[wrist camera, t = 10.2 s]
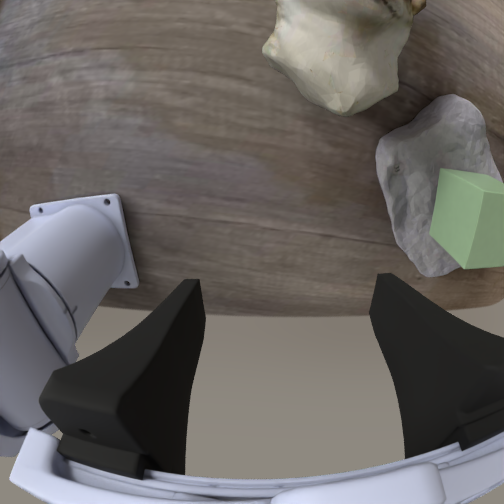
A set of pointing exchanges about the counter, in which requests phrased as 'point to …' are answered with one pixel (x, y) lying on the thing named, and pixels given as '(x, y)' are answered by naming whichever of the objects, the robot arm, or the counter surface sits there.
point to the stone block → (429, 173)
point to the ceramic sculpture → (341, 49)
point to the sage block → (470, 218)
